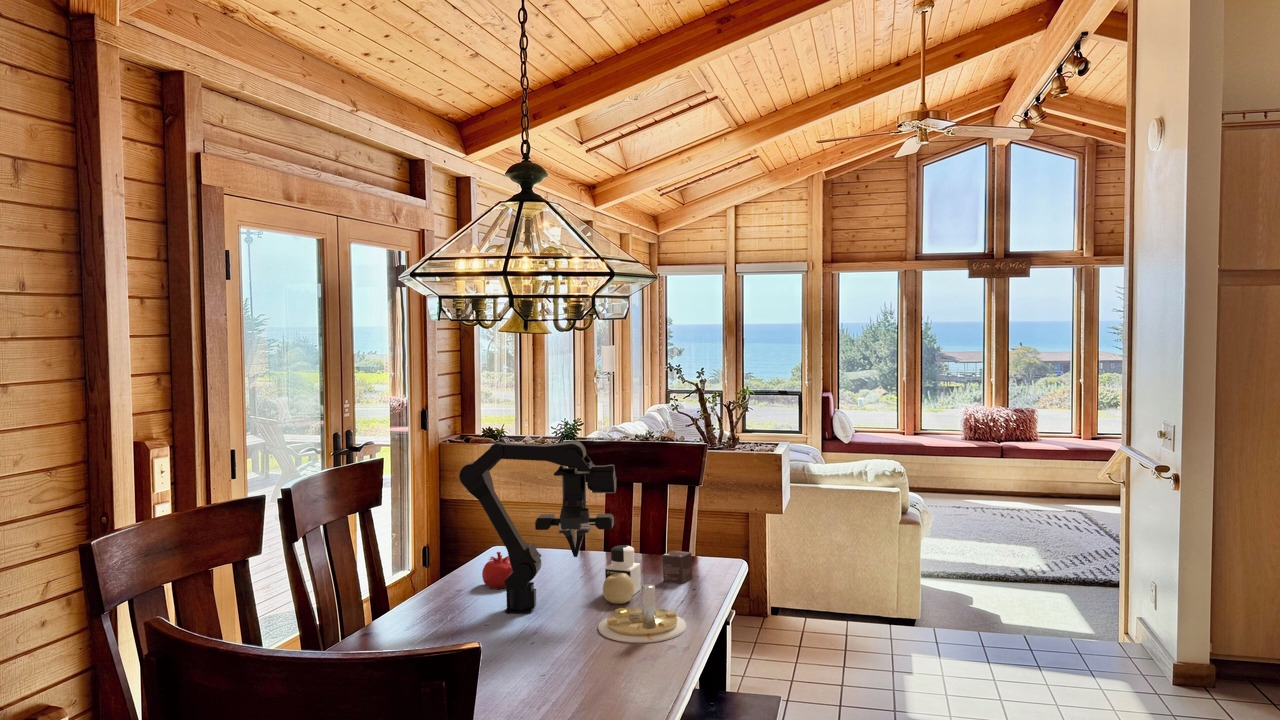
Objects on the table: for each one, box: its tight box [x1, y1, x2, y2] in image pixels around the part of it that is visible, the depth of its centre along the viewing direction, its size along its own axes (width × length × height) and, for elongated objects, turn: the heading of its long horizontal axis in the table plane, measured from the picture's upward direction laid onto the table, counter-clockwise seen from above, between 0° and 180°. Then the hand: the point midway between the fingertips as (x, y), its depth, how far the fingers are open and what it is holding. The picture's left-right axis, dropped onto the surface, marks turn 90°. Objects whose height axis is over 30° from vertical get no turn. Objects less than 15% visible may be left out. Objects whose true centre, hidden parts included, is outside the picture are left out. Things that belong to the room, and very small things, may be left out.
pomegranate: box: [481, 551, 513, 589], centre depth 230 cm, size 10×10×9 cm
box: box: [662, 549, 693, 584], centre depth 232 cm, size 6×6×7 cm
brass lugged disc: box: [606, 584, 677, 636], centre depth 193 cm, size 16×16×10 cm
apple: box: [602, 573, 634, 605], centre depth 213 cm, size 8×8×8 cm
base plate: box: [598, 615, 687, 644], centre depth 193 cm, size 20×20×1 cm
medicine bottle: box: [604, 544, 642, 596], centre depth 221 cm, size 7×7×12 cm
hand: (575, 556), depth 207 cm, fingers closed
